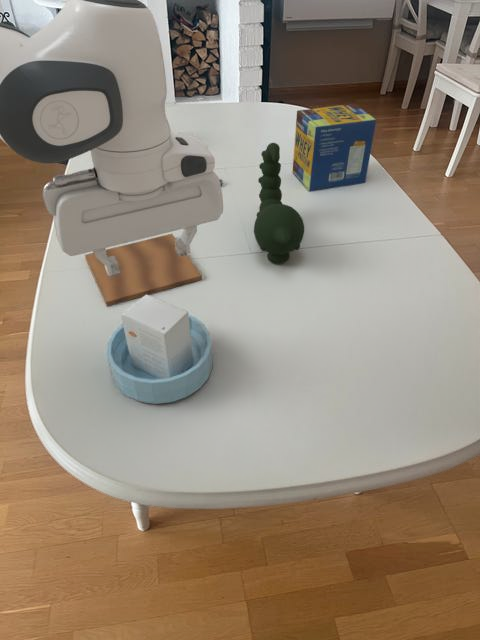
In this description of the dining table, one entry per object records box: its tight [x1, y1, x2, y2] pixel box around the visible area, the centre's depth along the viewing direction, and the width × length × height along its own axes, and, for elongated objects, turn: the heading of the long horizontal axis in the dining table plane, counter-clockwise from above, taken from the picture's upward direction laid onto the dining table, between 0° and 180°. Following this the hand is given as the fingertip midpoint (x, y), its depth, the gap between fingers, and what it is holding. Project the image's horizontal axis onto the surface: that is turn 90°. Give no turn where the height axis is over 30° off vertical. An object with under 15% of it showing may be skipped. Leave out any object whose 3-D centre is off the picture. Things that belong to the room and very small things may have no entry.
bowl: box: [106, 314, 213, 405], centre depth 78 cm, size 15×15×5 cm
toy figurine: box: [253, 142, 305, 265], centre depth 100 cm, size 9×19×25 cm
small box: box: [120, 294, 193, 379], centre depth 76 cm, size 8×6×10 cm
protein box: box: [292, 103, 377, 192], centre depth 123 cm, size 10×15×16 cm
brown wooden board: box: [84, 233, 203, 307], centre depth 99 cm, size 18×16×1 cm
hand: (148, 262), depth 67 cm, fingers open, 8 cm apart
